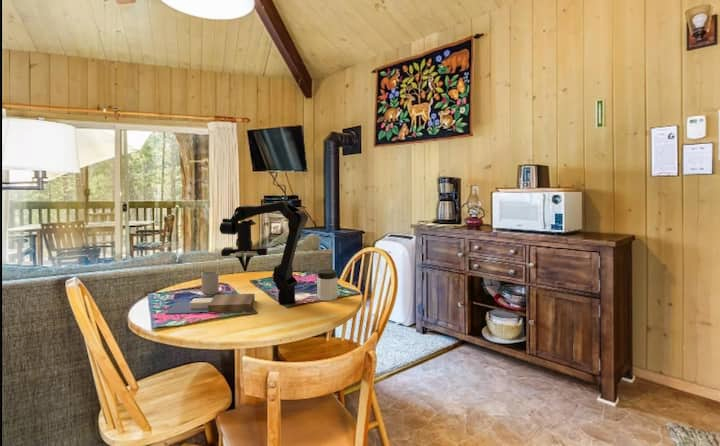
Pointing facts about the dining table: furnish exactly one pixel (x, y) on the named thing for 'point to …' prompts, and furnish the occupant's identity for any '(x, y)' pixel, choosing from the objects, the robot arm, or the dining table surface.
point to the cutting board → (231, 303)
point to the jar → (327, 284)
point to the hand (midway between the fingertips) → (245, 271)
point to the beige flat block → (200, 303)
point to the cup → (210, 282)
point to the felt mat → (184, 308)
